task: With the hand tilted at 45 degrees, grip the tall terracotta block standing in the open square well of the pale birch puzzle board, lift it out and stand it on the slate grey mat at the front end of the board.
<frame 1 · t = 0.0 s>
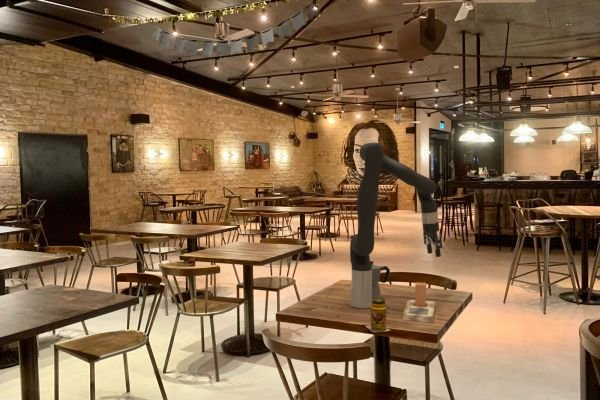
hand: (434, 255, 243), 22 cm above the table, tool pointing down, fingers open, 8 cm apart
condiment: (377, 329, 205), on the table
puzzle board: (419, 313, 226), on the table
block: (420, 310, 231), resting in puzzle board
coffeepot: (373, 297, 253), on the table
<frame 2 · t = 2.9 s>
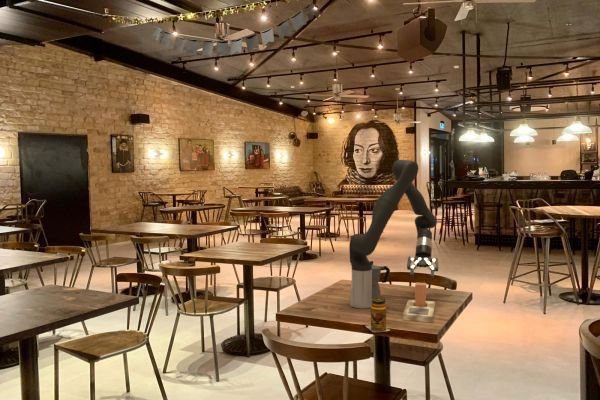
hand: (421, 277, 237), 13 cm above the table, tool tilted 45°, fingers open, 8 cm apart
nothing on the table moved.
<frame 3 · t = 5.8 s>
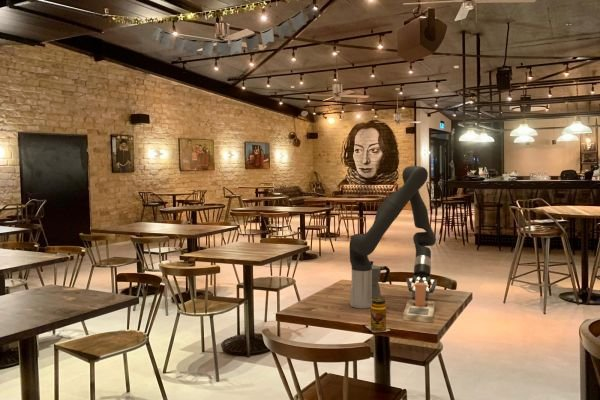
hand: (420, 299, 228), 5 cm above the table, tool tilted 45°, fingers closed on block, 4 cm apart
block: (420, 310, 231), resting in puzzle board, touching gripper
everything else where it was.
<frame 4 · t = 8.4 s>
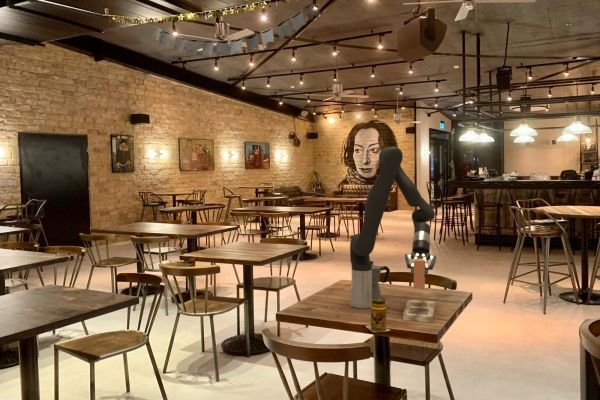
hand: (419, 276, 218), 18 cm above the table, tool tilted 45°, fingers closed on block, 4 cm apart
block: (419, 287, 221), point 13 cm above the table, touching gripper
everything else where it was.
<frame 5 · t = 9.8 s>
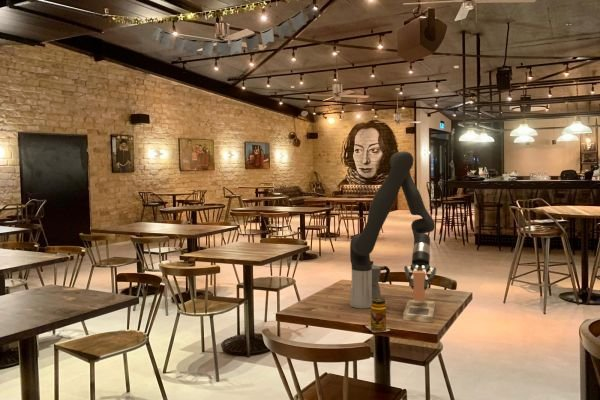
hand: (418, 288, 217), 13 cm above the table, tool tilted 45°, fingers closed on block, 4 cm apart
block: (419, 299, 220), point 8 cm above the table, touching gripper
everything else where it was.
when the fingers open (10 cm above the table, at t = 11.0 s): block drops 1 cm, resting on puzzle board.
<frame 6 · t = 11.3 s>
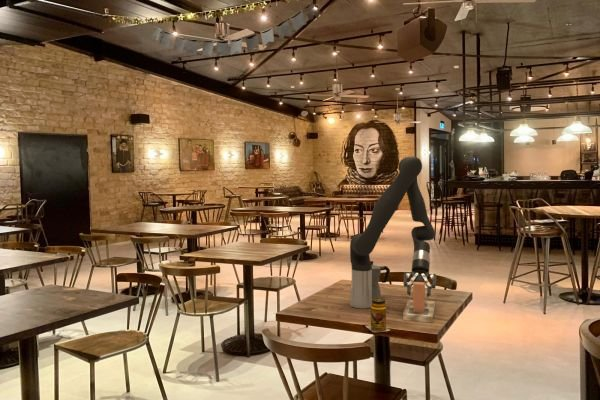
hand: (418, 295, 218), 10 cm above the table, tool tilted 45°, fingers open, 7 cm apart
block: (418, 310, 220), point 3 cm above the table, touching puzzle board
everything else where it was.
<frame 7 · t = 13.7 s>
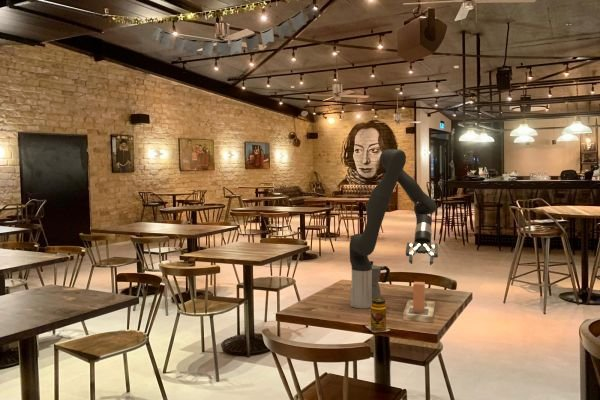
hand: (420, 263, 231), 21 cm above the table, tool tilted 45°, fingers open, 8 cm apart
nothing on the table moved.
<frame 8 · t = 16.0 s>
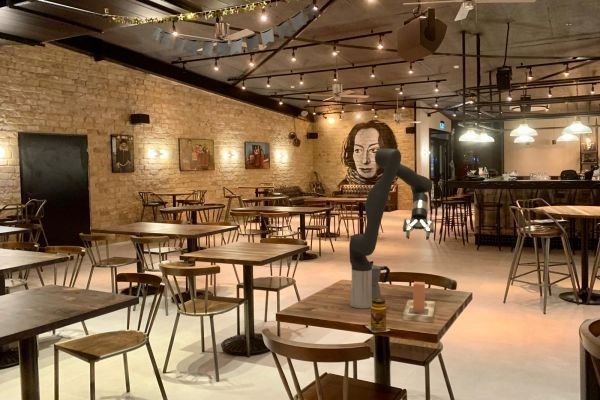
hand: (417, 238, 240), 31 cm above the table, tool tilted 45°, fingers open, 8 cm apart
nothing on the table moved.
at the end: block inside the target area on the puzzle board (0.0 cm from its centre), point 2.8 cm above the puzzle board's base; block tilted 0°; the gripper is holding nothing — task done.
